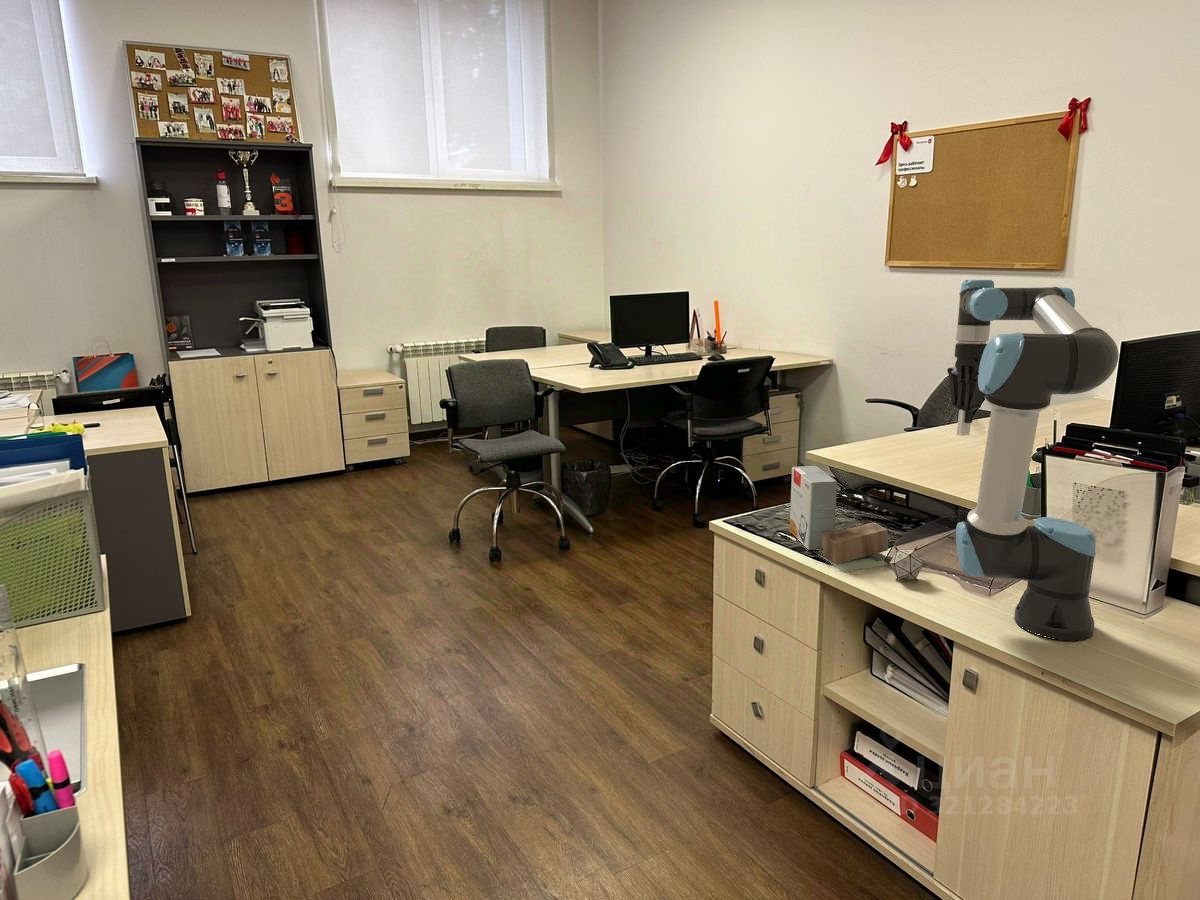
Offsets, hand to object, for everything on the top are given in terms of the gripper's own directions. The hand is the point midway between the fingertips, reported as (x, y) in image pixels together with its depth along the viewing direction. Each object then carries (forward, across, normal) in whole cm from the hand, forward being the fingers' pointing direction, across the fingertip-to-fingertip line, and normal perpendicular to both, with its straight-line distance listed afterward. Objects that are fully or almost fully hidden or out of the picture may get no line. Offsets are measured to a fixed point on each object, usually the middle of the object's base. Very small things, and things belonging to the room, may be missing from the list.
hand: (963, 434), depth 207 cm
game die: (+34, -7, +20) cm, 41 cm away
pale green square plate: (+34, +9, +25) cm, 43 cm away
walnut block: (+28, +9, +16) cm, 34 cm away
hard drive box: (+34, +24, +27) cm, 50 cm away
